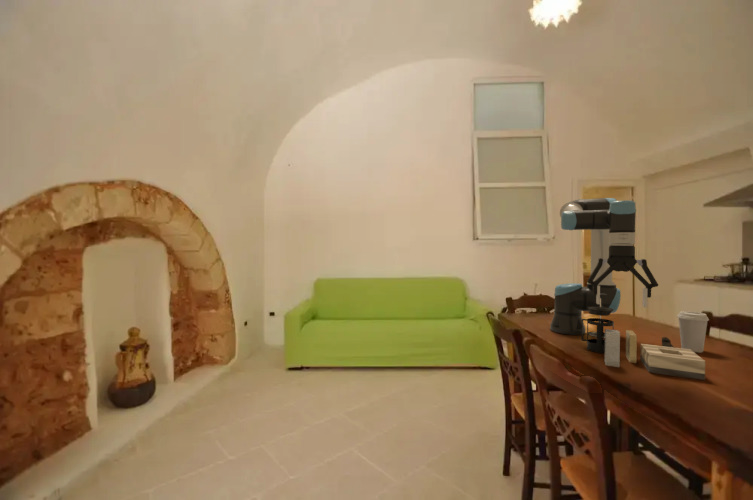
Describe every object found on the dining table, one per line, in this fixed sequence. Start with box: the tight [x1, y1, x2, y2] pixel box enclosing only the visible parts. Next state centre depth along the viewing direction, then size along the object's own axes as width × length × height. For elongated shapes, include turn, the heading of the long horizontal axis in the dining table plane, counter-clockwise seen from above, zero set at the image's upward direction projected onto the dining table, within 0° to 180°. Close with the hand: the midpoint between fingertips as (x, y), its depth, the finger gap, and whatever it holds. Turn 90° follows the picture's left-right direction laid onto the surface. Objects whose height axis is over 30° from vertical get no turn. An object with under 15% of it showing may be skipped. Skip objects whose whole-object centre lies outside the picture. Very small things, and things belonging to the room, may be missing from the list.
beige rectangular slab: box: [625, 329, 638, 364], centre depth 128 cm, size 8×2×10 cm, turn 152°
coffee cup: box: [676, 310, 710, 354], centre depth 139 cm, size 10×10×15 cm
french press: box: [581, 293, 615, 354], centre depth 139 cm, size 12×9×23 cm
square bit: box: [603, 328, 621, 368], centre depth 122 cm, size 4×4×12 cm
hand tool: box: [661, 336, 676, 348], centre depth 136 cm, size 19×4×5 cm, turn 145°
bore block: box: [639, 343, 706, 381], centre depth 118 cm, size 14×14×6 cm
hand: (620, 305), depth 121 cm, fingers open, 13 cm apart
